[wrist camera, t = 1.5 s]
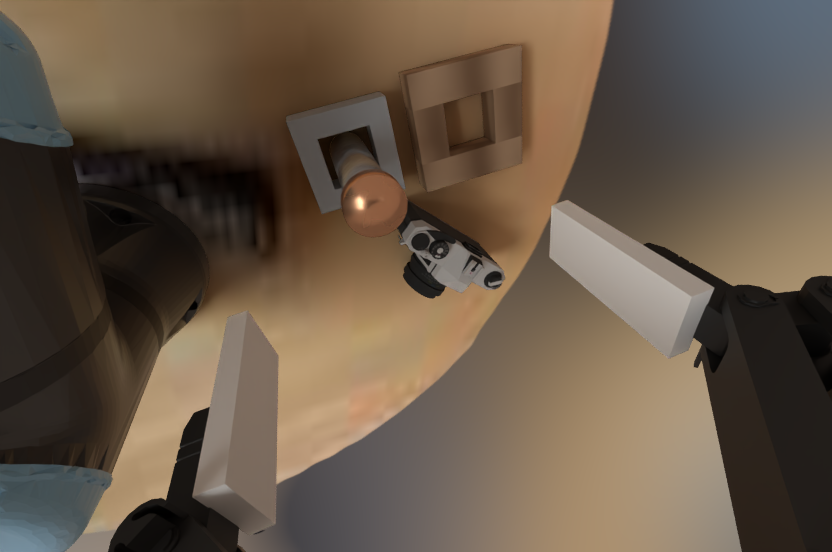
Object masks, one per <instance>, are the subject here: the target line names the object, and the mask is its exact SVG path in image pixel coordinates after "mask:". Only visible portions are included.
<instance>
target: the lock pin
mask: <svg viewBox="0 0 832 552" xmlns="http://www.w3.org/2000/svg"><path fill="white" fill-rule="evenodd" d="M330 155H331V158H332V161H333V164H334V167H335V170H336V173H337V176H338V179H339V182H340V185H341V188H342V193H341V207H342V211H343V214H344V218H345V220H346V222H347V224H348V225H349V226H350V227H351V228H352V229H353V230H354V231H355V232H357V233H358V234H360V235H363V236H367V237H380V236H384V235H387V234H389V233H391V232H392V231H394V230H395V229H396V228H397V227H398V226H399V225H400V224H401V223H402V221H403V220H404V218H405V215H406V212H407V207H408V202H407V197H406V194H405V192H404V190H403V188H402V187H401V185H400V184H399V183H398V181H397V180H396V179H395V178H394V177H393V176H392V175H390V174H389V173H387V172H385V171H382V169H381V168H380V166H379V165H378V163H377V162H376V160H375V159H374V157H373V156H372V154H371V153H370V151H369V150H368V148H367V147H366V146H365V144H364V143H363V141H362V140H361V138H360V137H359V136H357V135H356V134H354V133H350V132H344V133H340V134H338V135H337V136H335V137H334V139H333V140H332V142H331V144H330Z"/></svg>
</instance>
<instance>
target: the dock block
mask: <svg viewBox="0 0 832 552" xmlns="http://www.w3.org/2000/svg"><path fill="white" fill-rule="evenodd" d="M399 77H400V82H401V87H402V93H403V98H404V103H405V108H406V114H407V119H408V124H409V129H410V135H411V140H412V145H413V150H414V156H415V161H416V166H417V171H418V177H419V182H420V184H421V186H422V187H423V188H424V189H425V190H426V191H427V192H430V191H434V190H437V189H440V188H443V187H447V186H450V185H453V184H456V183H460V182H463V181H466V180H469V179H473V178H476V177H479V176H482V175H486V174H489V173H492V172H496V171H499V170H502V169H505V168H509V167H512V166H515V165H518V164H522V45H512V44H506V45H502V46H498V47H494V48H490V49H487V50H483V51H479V52H475V53H471V54H467V55H464V56H460V57H456V58H452V59H448V60H444V61H441V62H437V63H433V64H429V65H425V66H421V67H418V68H414V69H410V70H406V71H402V72H399ZM479 93H481V96H482V111H483V126H484V137H483V138H479V139H476V140H473V141H469V142H466V143H462V144H459V145H455V146H452V147H449V144H448V136H447V128H446V121H445V113H444V105H443V103H446V102H450V101H453V100H457V99H461V98H464V97H468V96H471V95H475V94H479Z"/></svg>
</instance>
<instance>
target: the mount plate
mask: <svg viewBox="0 0 832 552" xmlns="http://www.w3.org/2000/svg"><path fill="white" fill-rule="evenodd" d="M286 123H287V126H288V128H289V131H290V133H291V136H292V138H293V141H294V144H295V146H296V149H297V151H298V154H299V156H300V159H301V162H302V164H303V167H304V169H305V172H306V174H307V177H308V180H309V182H310V185H311V187H312V190H313V192H314V195H315V197H316V200H317V203H318V205H319V208H320V210H321V213H322V214H324V213H327V212H330V211H334V210H337V209H340V208H342V207H341V193H342V188H341V185H340V182H339V179H336V180H332V179H331V176H330V173H329V170H328V167H327V164H326V162H325V159H324V156H323V153H322V150H321V147H320V144H319V141H318V139H321V138H324V137H328V136H332V135H335V134H339V133H343V132H346V131H350V130H353V129H357V128H361V127H364V126H366V127H367V131H368V135H369V139H370V143H371V146H372V150H373V154H374V158H375V160H376V162H377V163H378V165H379V166H380V168H381V169H382V171H385V172H387V173H389V174H390V175H392V176H393V177H394V178H395V179H396V180H397V181H398V183H399V184H400V185H401V187H402V188H403V189H406V188H405V184H404V179H403V175H402V170H401V166H400V161H399V156H398V152H397V147H396V143H395V138H394V133H393V129H392V124H391V120H390V115H389V111H388V106H387V101H386V97H385V95H384V94H382V93H381V92H375V93H371V94H367V95H364V96H360V97H356V98H352V99H349V100H345V101H341V102H337V103H334V104H330V105H326V106H322V107H319V108H315V109H311V110H307V111H304V112H300V113H296V114H292V115H288V116H286Z"/></svg>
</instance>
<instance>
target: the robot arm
mask: <svg viewBox="0 0 832 552" xmlns="http://www.w3.org/2000/svg"><path fill="white" fill-rule="evenodd" d="M72 145H73V140H72V137H71V135H70V133H69V131H67V130H66V129H65V128H64V127H63V126H62V123H61V120H60V118H59V115H58V112H57V109H56V106H55V104H54V101H53V98H52V95H51V92H50V89H49V86H48V82H47V79H46V76H45V73H44V70H43V67H42V64H41V61H40V58H39V56H38V54H37V51H36V50H35V48H34V46H33V45H32V43H31V41H30V40H29V39H28V37H27V36H26V35H25V33H24V32H23V31H22V30H21V29H20V28H19V27H18V26H17V25H16V24H15V23H14V22H13V21H12V20H11V19H9V18H8V17H7V16H6V15H5V14H3V13H2V12H1V11H0V552H65V551H66V550H67V549H68V548H70V547H71V546H72V545H73V544H74V543H75V542H76V540H77V539H78V538H79V537H80V536H81V535H82V533H83V532H84V530H85V528H86V527H87V525H88V523H89V521H90V519H91V517H92V515H93V513H94V511H95V509H96V507H97V505H98V503H99V501H100V499H101V497H102V495H103V493H104V491H105V490H106V489H108V487H109V486H110V485H111V482H112V479H113V478H112V477H111V476H112V475H111V474H112V472H113V469H114V466H115V464H116V461H117V459H118V456H119V454H120V451H121V449H122V446H123V444H124V441H125V439H126V436H127V433H128V431H129V428H130V426H131V423H132V421H133V418H134V416H135V413H136V411H137V408H138V405H139V403H140V400H141V398H142V395H143V393H144V390H145V388H146V385H147V383H148V380H149V377H150V375H151V372H152V370H153V367H154V365H155V362H156V359H157V357H158V354H159V352H160V349H161V348H162V347H163V346H164V345H165V344H166V343H167V342H168V341H169V340H170V339H171V338H172V337H173V336H174V335H175V334H176V333H178V332H179V331H180V330H181V329H182V328H183V327H184V326H185V325H186V324H187V323H188V322H189V321H190V320H191V319H192V318H193V317H194V316H195V314H196V313H197V311H198V310H199V308H200V306H201V304H202V302H203V299H204V296H205V293H206V290H207V287H208V283H209V264H208V260H207V257H206V254H205V252H204V250H203V248H202V246H201V244H200V242H199V241H198V239H197V238H196V237H195V235H194V234H193V233H192V232H191V230H190V229H189V228H188V227H187V226H186V225H185V224H184V223H183V222H181V221H180V220H179V219H178V218H177V217H175V216H174V215H173V214H171V213H170V212H169V211H167V210H165V209H164V208H162V207H161V206H159V205H157V204H155V203H153V202H151V201H149V200H147V199H145V198H143V197H140V196H138V195H135V194H132V193H130V192H126V191H123V190H119V189H115V188H111V187H106V186H100V185H91V184H78V180H77V176H76V172H75V168H74V164H73V160H72V156H71V152H70V148H69V146H72ZM550 258H551V259H552V260H554V261H555V262H556V263H557V264H558V265H559V266H561V267H562V268H563V269H564V270H565V271H566V272H568V273H569V274H570V275H571V276H572V277H573V278H575V279H576V280H577V281H578V282H579V283H581V284H582V285H583V286H584V287H585V288H586V289H587V290H589V291H590V292H591V293H592V294H594V296H596V297H597V298H598V299H599V300H600V301H602V302H603V303H604V304H605V305H606V306H607V307H609V308H610V309H611V310H612V311H613V312H615V313H616V314H617V315H618V316H619V317H620V318H622V319H623V320H624V321H625V322H626V323H627V324H629V325H630V326H631V327H632V328H633V329H634V330H636V331H637V332H638V333H639V334H640V335H641V336H643V337H644V338H645V339H646V340H647V341H649V342H650V343H651V344H652V345H653V346H654V347H655V348H657V349H658V350H659V351H660V352H662V353H663V354H664V355H665V356H666V357H667V358H671V357H674V356H676V355H678V354H681V353H683V352H685V351H688V349H689V347H690V345H691V342H692V340H693V338H695V339H696V340H698V341H699V342H700V343H701V344H702V346H701V348H700V350H699V353H698V355H697V357H696V359H695V361H694V367H696V368H698V366H699V364H700V362H701V361H702V363H703V368H704V372H705V377H706V382H707V387H708V392H709V396H710V401H711V406H712V411H713V416H714V420H715V425H716V430H717V435H718V439H719V444H720V449H721V454H722V458H723V463H724V468H725V473H726V478H727V482H728V487H729V492H730V497H731V501H732V506H733V511H734V516H735V521H736V526H737V530H738V535H739V539H740V544H741V549H742V552H832V276H817V277H811V278H810V279H808V280H807V281H806V282H805V284H804V285H803V287H802V288H801V290H800V291H793V292H783V293H773V292H771V291H770V290H767V289H764V288H762V287H758V286H752V285H737V286H732V285H730V284H728V283H726V282H724V281H723V280H721V279H719V278H717V277H716V276H714V275H712V274H710V273H709V272H707V271H705V270H703V269H702V268H700V267H698V266H696V265H695V264H693V263H689V261H688V260H686V259H684V258H682V257H678V255H677V254H675V253H674V252H672V251H670V250H668V249H666V248H665V247H661V246H658V245H654V244H651V243H646V244H644V245H642V244H640V243H638V242H637V241H635V240H634V239H631V238H630V237H628V236H627V235H625V234H624V233H622V232H620V231H619V230H617V229H615V228H614V227H612V226H610V225H608V224H607V223H605V222H603V221H602V220H600V219H598V218H597V217H595V216H593V215H592V214H590V213H588V212H587V211H585V210H583V209H582V208H580V207H578V206H577V205H575V204H573V203H571V202H570V201H568V200H566V201H563V202H560V203H557V204H555V205H552V210H551V234H550ZM277 410H278V354H277V353H276V351H275V350H274V348H273V347H272V346H271V344H270V343H269V341H268V340H267V338H266V337H265V335H264V334H263V332H262V331H261V329H260V328H259V326H258V325H257V323H256V322H255V320H254V319H253V317H252V316H251V314H250V313H249V312H248V310H247V311H244V312H241V313H238V314H235V315H232V316H229V317H228V318H227V323H226V328H225V333H224V338H223V343H222V348H221V353H220V358H219V364H218V369H217V374H216V379H215V384H214V389H213V394H212V399H211V404H210V407H208V408H206V409H203V410H200V411H198V412H195V413H194V414H193V415H192V417H191V419H190V420H189V422H188V424H187V425H186V427H185V429H184V431H183V435H182V439H181V443H180V449H179V451H178V455H177V459H176V460H177V463H175V467H174V471H173V475H172V479H171V483H170V487H169V491H168V495H167V499H166V500H164V499H162V498H159V499H151V500H149V501H147V502H145V503H143V504H141V505H140V506H138V507H137V508H136V509H135V510H134V511H132V512H131V513H130V514H129V515H128V516H127V517H126V518H125V520H124V521H123V522H122V523H121V524H120V526H119V527H118V528H117V530H116V532H115V534H114V536H113V538H112V539H111V542H110V546H109V551H108V552H246V551H245V550H244V549H243V548H242V547H240V546H239V545H237V543H238V531H239V529H240V530H241V531H243V532H245V533H246V534H247V535H251V534H253V533H256V532H258V531H261V530H263V529H265V528H268V527H270V526H272V525H275V524H276V467H277Z"/></svg>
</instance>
